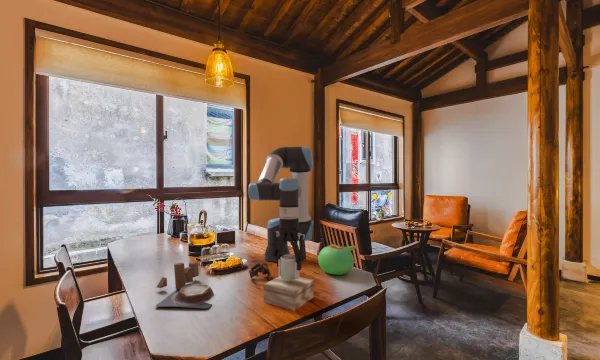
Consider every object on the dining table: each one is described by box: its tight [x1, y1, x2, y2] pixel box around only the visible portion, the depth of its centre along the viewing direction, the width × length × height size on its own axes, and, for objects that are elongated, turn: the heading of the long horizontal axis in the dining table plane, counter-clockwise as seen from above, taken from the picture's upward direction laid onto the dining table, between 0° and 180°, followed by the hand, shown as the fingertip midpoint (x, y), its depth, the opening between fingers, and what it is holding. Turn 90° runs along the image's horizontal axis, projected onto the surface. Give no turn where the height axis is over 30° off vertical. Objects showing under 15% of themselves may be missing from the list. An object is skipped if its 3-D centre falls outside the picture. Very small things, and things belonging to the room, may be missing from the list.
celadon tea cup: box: [280, 254, 296, 280], centre depth 112 cm, size 7×7×8 cm
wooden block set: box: [156, 261, 200, 290], centre depth 125 cm, size 18×9×10 cm, turn 149°
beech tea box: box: [262, 276, 315, 312], centre depth 111 cm, size 14×14×7 cm
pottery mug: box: [248, 262, 272, 281], centre depth 134 cm, size 12×9×8 cm
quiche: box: [155, 283, 215, 309], centre depth 114 cm, size 21×20×4 cm
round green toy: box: [317, 243, 358, 276], centre depth 142 cm, size 18×17×15 cm
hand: (288, 276), depth 111 cm, fingers closed on celadon tea cup, 7 cm apart
